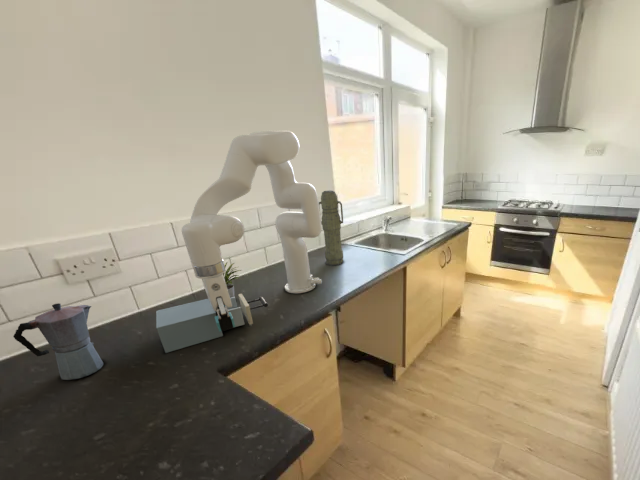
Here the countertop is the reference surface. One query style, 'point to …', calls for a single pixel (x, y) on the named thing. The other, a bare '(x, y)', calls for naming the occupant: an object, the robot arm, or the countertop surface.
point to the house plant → (227, 279)
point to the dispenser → (186, 325)
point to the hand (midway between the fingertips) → (225, 324)
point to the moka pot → (65, 340)
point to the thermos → (331, 227)
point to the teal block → (219, 324)
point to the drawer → (243, 309)
